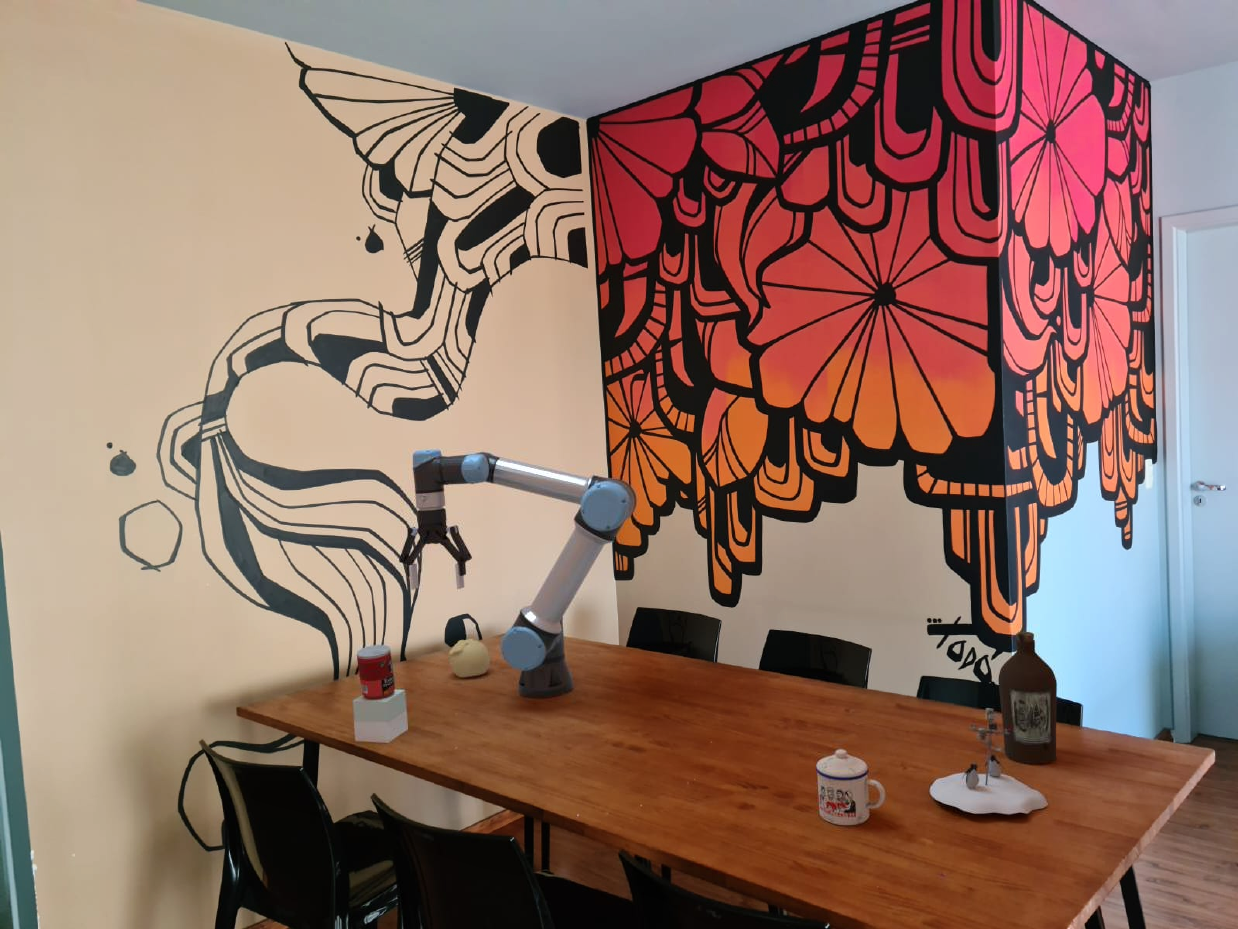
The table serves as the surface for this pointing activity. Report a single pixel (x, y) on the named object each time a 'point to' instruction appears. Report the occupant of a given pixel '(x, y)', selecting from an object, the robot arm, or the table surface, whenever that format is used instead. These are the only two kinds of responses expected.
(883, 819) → the table surface
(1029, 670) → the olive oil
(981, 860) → the table surface
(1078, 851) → the table surface
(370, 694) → the canned food
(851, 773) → the teacup with lid
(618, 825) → the table surface
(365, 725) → the tower base
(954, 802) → the figurine
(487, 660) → the sculpture
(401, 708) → the tower top
